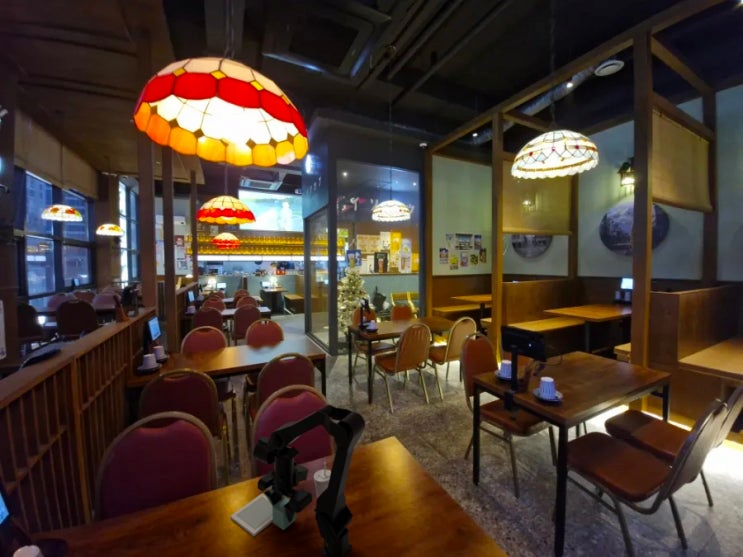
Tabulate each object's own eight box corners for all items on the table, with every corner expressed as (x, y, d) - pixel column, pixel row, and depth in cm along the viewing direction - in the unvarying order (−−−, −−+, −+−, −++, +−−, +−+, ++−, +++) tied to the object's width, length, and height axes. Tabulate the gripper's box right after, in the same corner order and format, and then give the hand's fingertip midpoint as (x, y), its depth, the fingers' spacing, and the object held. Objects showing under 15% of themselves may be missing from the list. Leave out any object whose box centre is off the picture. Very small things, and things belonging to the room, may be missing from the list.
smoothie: (329, 512, 101) (329, 469, 101) (310, 509, 102) (310, 467, 102) (335, 497, 107) (335, 457, 107) (317, 495, 109) (317, 455, 108)
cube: (296, 518, 97) (296, 503, 97) (283, 530, 93) (283, 513, 93) (285, 511, 100) (285, 496, 99) (272, 522, 96) (272, 506, 95)
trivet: (286, 510, 102) (286, 507, 102) (254, 536, 92) (254, 533, 92) (262, 495, 108) (262, 492, 108) (230, 518, 98) (230, 515, 98)
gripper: (324, 464, 97) (325, 513, 98) (284, 445, 107) (284, 489, 108) (297, 485, 88) (298, 539, 88) (256, 462, 98) (256, 510, 99)
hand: (284, 517), depth 96 cm, fingers closed on cube, 5 cm apart
